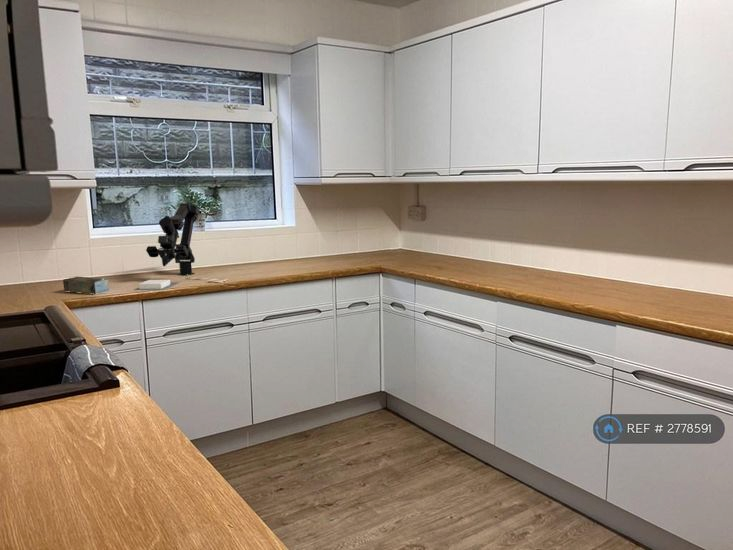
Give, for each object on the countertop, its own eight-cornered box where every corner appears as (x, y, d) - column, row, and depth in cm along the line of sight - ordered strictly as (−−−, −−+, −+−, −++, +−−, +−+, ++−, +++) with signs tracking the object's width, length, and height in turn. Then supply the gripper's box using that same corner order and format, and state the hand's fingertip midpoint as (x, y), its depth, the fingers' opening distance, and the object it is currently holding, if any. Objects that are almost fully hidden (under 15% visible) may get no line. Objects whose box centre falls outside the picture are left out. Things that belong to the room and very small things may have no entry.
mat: (151, 283, 280) (151, 282, 280) (180, 283, 279) (180, 282, 279) (133, 291, 260) (133, 290, 260) (164, 290, 259) (164, 289, 259)
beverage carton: (95, 295, 253) (94, 280, 252) (63, 293, 260) (61, 278, 259) (109, 292, 260) (108, 277, 259) (78, 290, 267) (76, 275, 266)
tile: (148, 279, 272) (138, 283, 261) (170, 279, 272) (160, 283, 261) (149, 285, 272) (139, 289, 261) (170, 285, 272) (161, 289, 261)
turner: (182, 281, 285) (182, 278, 285) (191, 278, 292) (191, 276, 291) (219, 282, 277) (219, 280, 277) (228, 280, 284) (227, 278, 284)
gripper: (145, 229, 280) (138, 255, 271) (184, 228, 279) (178, 255, 270) (153, 243, 289) (146, 269, 280) (191, 243, 288) (185, 269, 279)
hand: (163, 265), depth 277 cm, fingers closed
